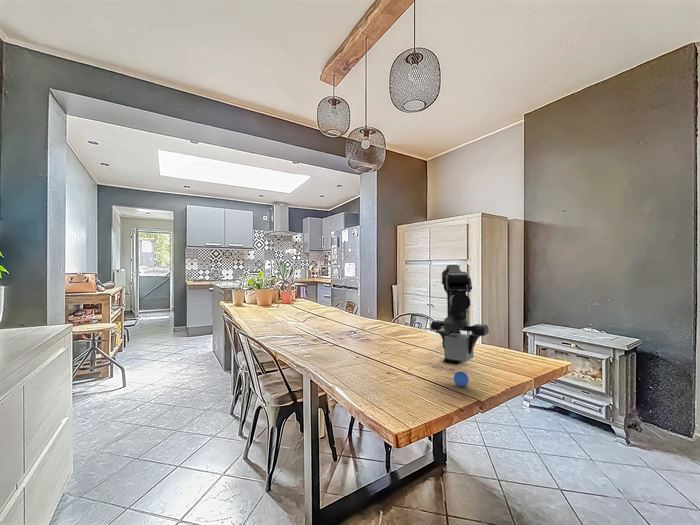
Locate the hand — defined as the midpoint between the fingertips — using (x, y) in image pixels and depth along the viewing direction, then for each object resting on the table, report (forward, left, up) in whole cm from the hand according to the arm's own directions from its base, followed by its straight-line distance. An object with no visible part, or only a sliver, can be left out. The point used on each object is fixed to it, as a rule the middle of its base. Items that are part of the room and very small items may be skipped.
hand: (459, 352), depth 106 cm
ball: (0, +1, -10) cm, 10 cm away
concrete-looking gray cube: (0, 0, -2) cm, 2 cm away
